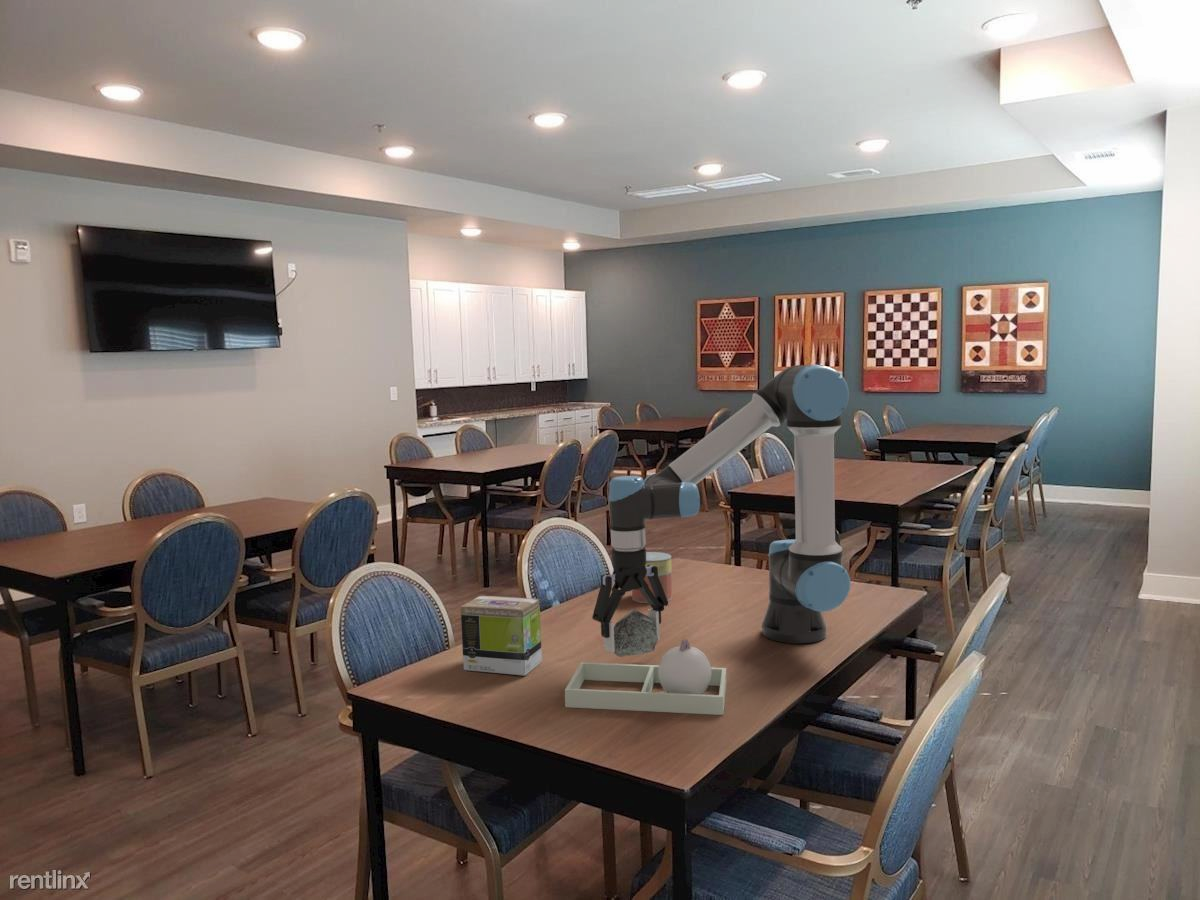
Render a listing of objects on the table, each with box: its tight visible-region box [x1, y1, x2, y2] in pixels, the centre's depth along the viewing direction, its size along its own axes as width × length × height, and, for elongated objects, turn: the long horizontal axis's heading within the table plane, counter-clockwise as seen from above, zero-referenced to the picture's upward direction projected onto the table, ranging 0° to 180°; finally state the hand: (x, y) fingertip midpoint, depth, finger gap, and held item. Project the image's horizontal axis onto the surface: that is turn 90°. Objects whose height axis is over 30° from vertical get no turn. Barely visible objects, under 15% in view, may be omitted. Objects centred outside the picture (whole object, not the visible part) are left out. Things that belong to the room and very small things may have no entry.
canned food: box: [631, 551, 673, 604], centre depth 246 cm, size 11×11×12 cm
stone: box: [613, 609, 659, 658], centre depth 193 cm, size 10×10×10 cm
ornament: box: [658, 638, 712, 695], centre depth 173 cm, size 10×10×12 cm
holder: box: [564, 661, 727, 716], centre depth 175 cm, size 30×16×4 cm, turn 80°
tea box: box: [460, 595, 543, 677], centre depth 193 cm, size 15×10×15 cm, turn 71°
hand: (632, 644), depth 193 cm, fingers closed on stone, 12 cm apart
